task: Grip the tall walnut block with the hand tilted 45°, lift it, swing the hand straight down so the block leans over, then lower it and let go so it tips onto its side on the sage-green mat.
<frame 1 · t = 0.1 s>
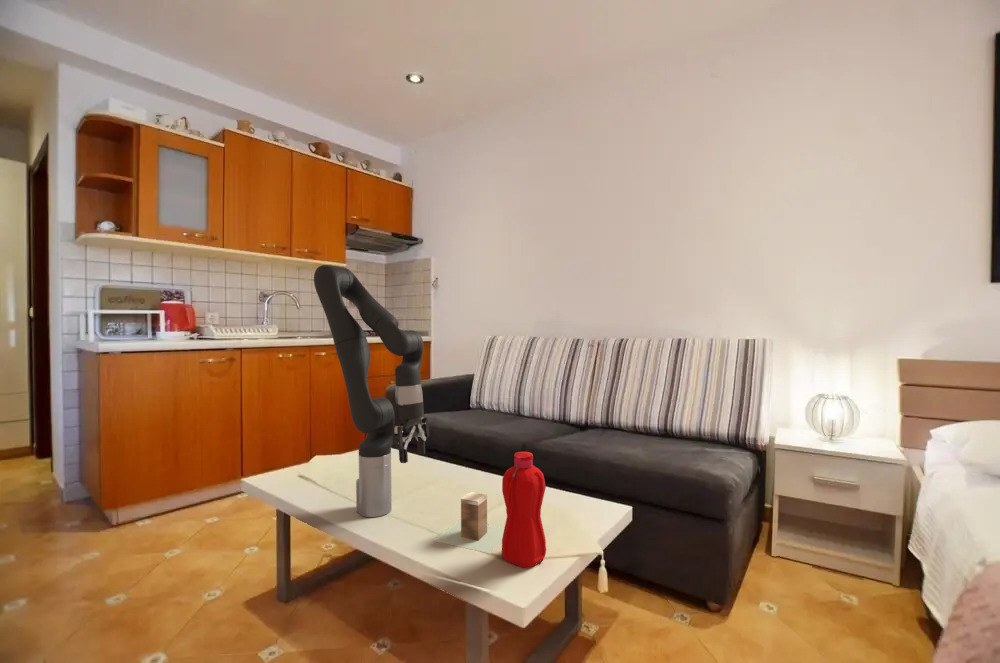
hand: (412, 458, 129), 17 cm above the table, fingers open, 8 cm apart
walnut block: (474, 534, 119), resting on sage mat
sage mat: (474, 536, 119), on the table
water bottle: (521, 560, 107), on the table
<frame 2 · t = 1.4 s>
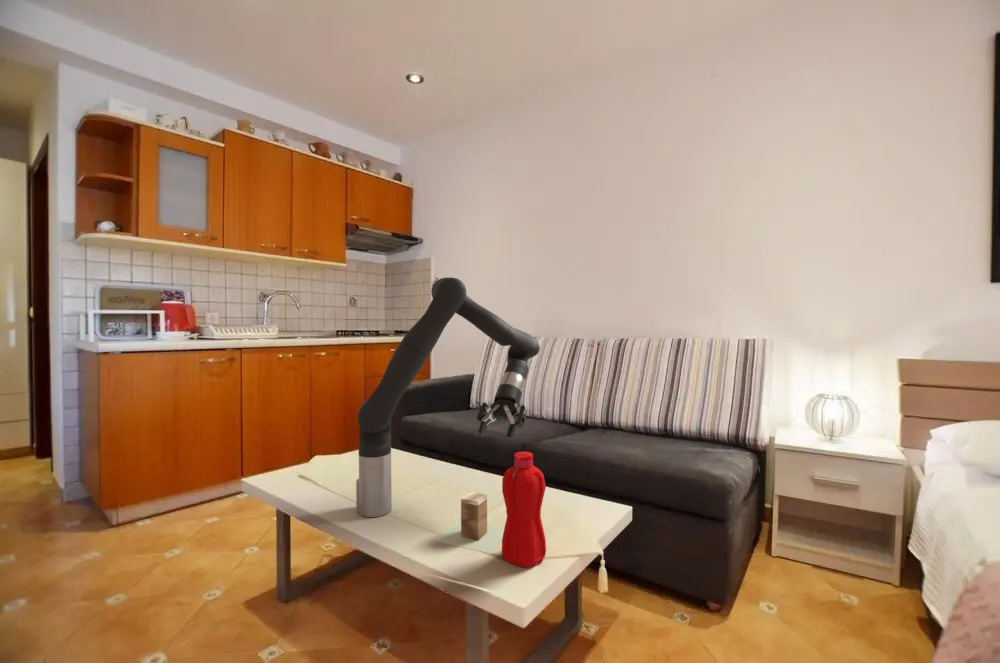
hand: (494, 436, 129), 23 cm above the table, fingers open, 8 cm apart
nothing on the table moved.
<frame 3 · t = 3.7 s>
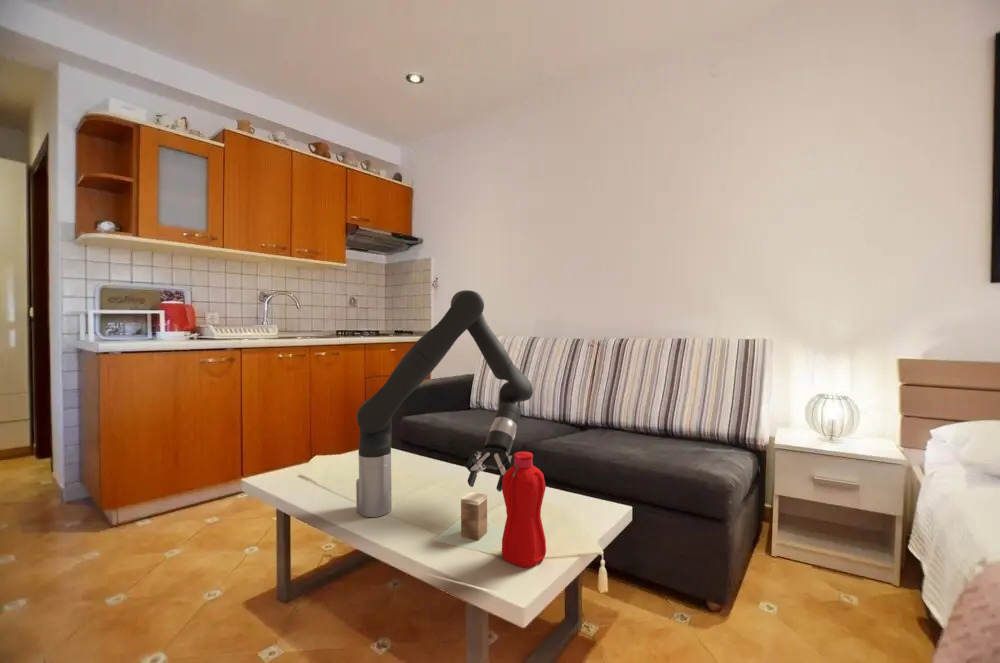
hand: (484, 487, 124), 11 cm above the table, fingers open, 8 cm apart
nothing on the table moved.
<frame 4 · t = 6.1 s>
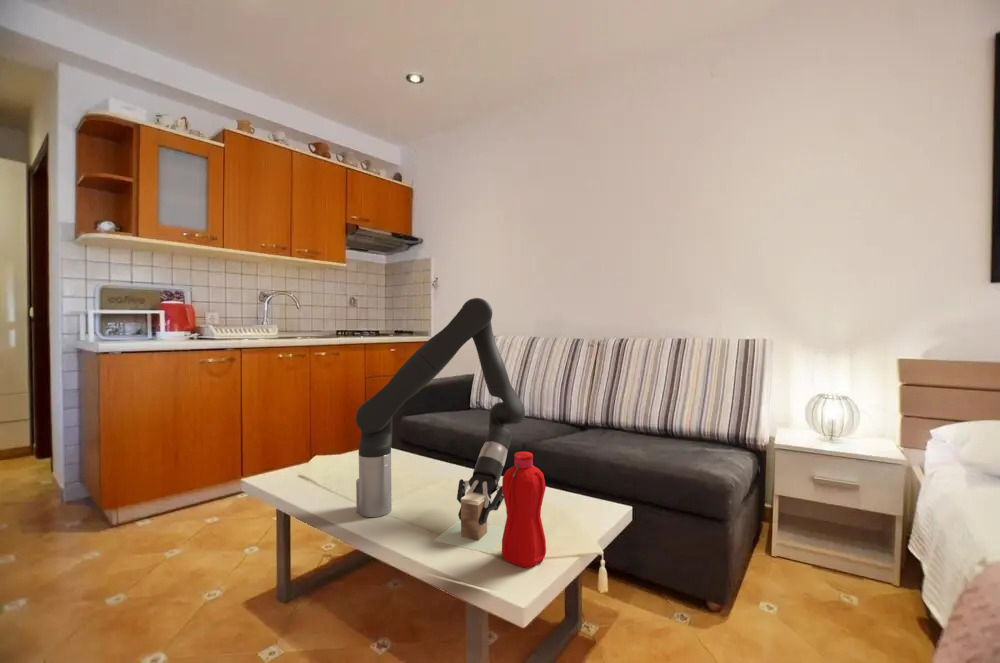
hand: (470, 521, 117), 5 cm above the table, fingers closed on walnut block, 5 cm apart
walnut block: (474, 534, 119), resting on sage mat, touching gripper
everything else where it was.
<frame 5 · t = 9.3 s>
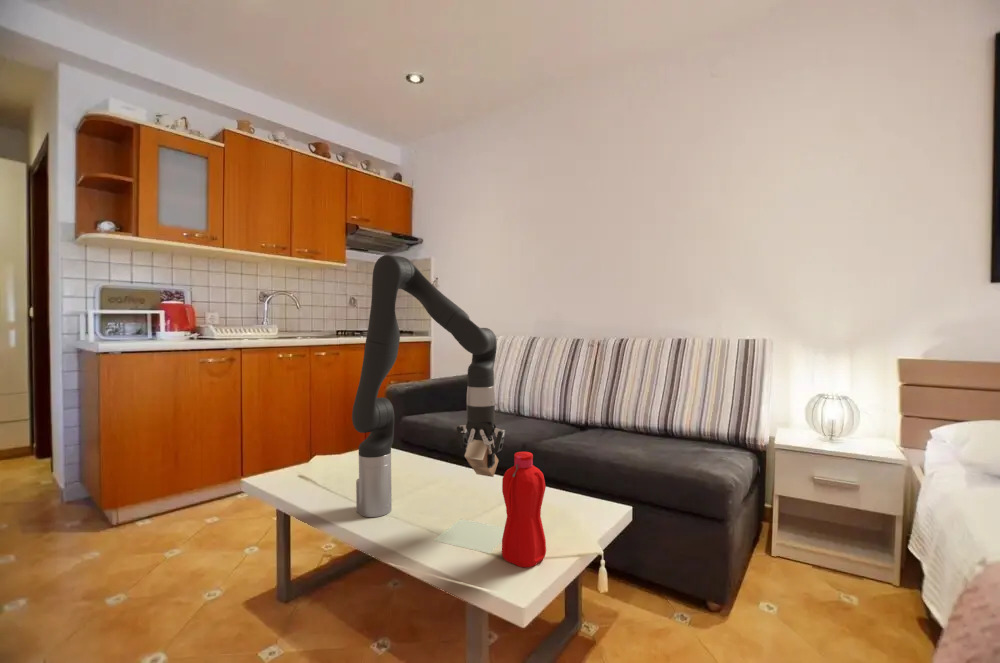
hand: (480, 465, 122), 17 cm above the table, fingers closed on walnut block, 5 cm apart
walnut block: (487, 467, 126), point 16 cm above the table, tilted 45°, touching gripper
everything else where it was.
when the fingers open (5 cm above the table, at t = 12.4 s): walnut block moves 2 cm and tips over, resting on sage mat.
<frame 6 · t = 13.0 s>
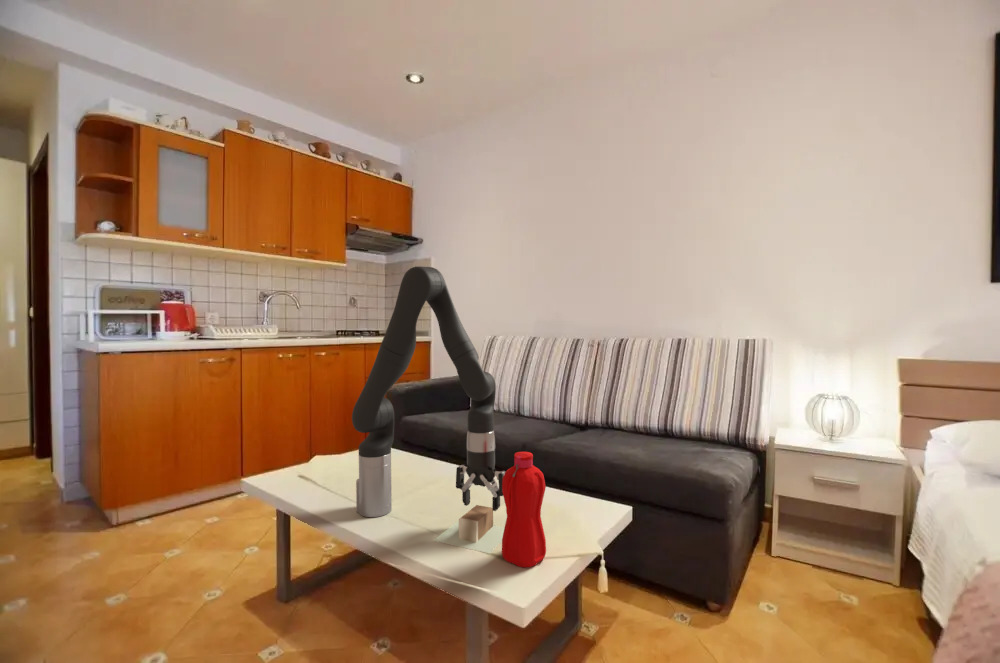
hand: (481, 507, 122), 6 cm above the table, fingers open, 8 cm apart
walnut block: (484, 515, 125), point 3 cm above the table, tilted 90°, touching sage mat
everything else where it was.
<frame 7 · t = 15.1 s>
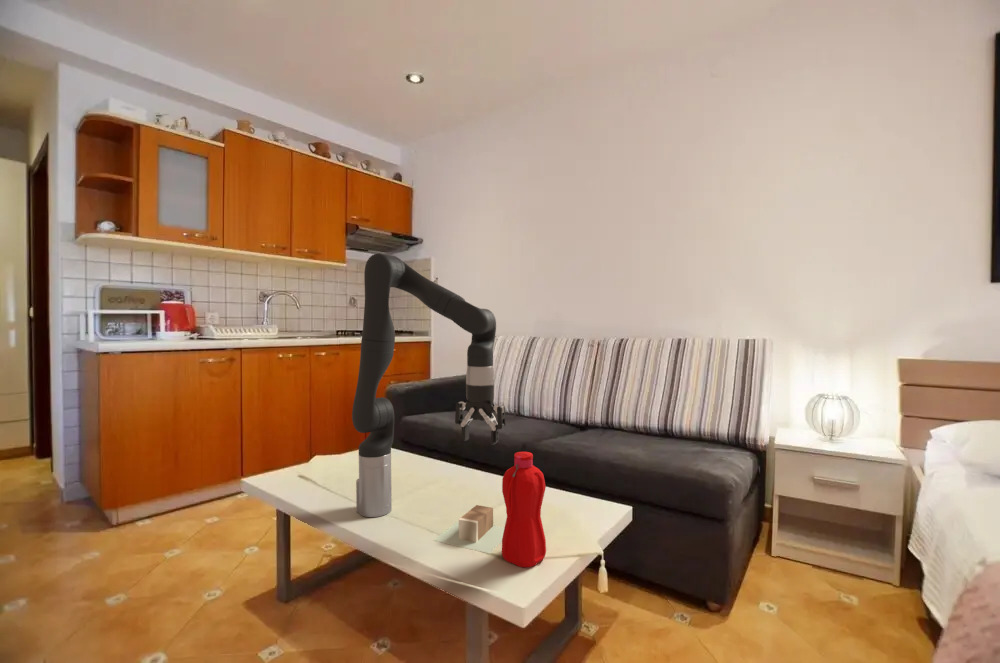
hand: (479, 441, 124), 23 cm above the table, fingers open, 8 cm apart
nothing on the table moved.
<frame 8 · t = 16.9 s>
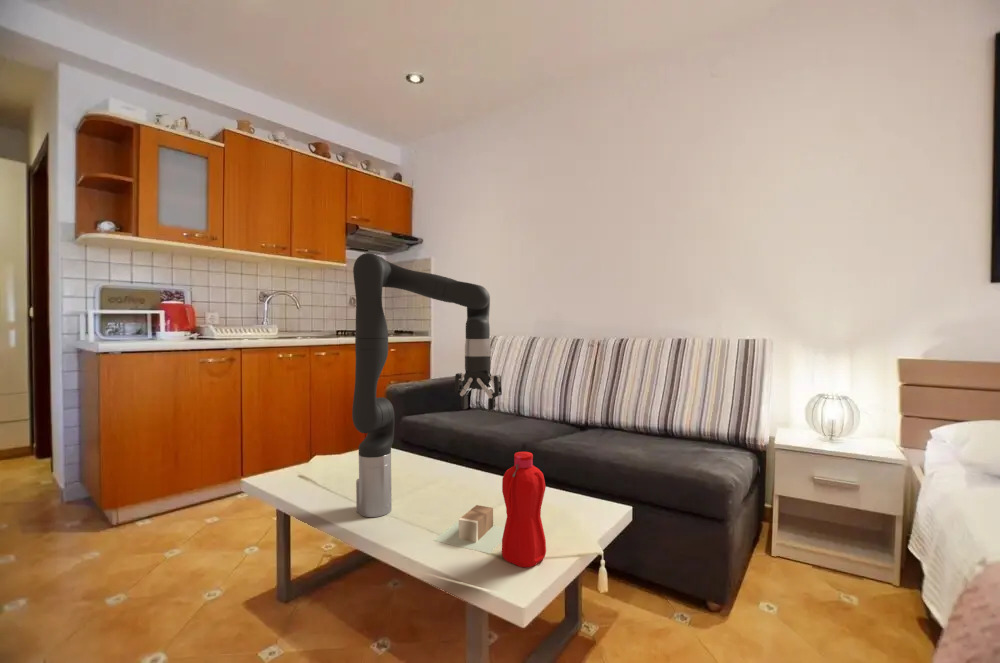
hand: (478, 409, 133), 30 cm above the table, fingers open, 8 cm apart
nothing on the table moved.
at the end: walnut block tilted 90°; walnut block inside the target area (4.4 cm from its centre), point 2.9 cm above the table; the gripper is holding nothing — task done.
